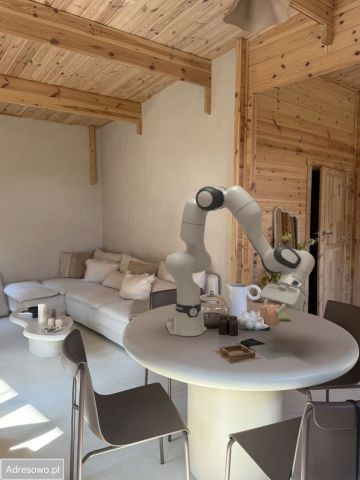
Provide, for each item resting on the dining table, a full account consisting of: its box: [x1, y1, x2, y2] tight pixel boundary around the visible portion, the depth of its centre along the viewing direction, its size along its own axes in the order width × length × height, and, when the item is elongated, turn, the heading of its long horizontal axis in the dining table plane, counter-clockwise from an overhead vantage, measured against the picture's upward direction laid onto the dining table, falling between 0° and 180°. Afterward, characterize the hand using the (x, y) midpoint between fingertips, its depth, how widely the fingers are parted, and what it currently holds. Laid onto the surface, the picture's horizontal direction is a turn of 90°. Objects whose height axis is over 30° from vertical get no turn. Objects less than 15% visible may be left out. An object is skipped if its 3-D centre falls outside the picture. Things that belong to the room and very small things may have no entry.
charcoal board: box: [249, 342, 295, 360], centre depth 147 cm, size 14×12×2 cm
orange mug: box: [259, 302, 280, 327], centre depth 146 cm, size 6×8×8 cm
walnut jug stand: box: [214, 343, 261, 365], centre depth 143 cm, size 13×13×4 cm
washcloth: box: [279, 311, 292, 322], centre depth 199 cm, size 13×18×3 cm
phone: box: [259, 327, 271, 332], centre depth 184 cm, size 8×1×15 cm
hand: (270, 311), depth 146 cm, fingers closed on orange mug, 6 cm apart
